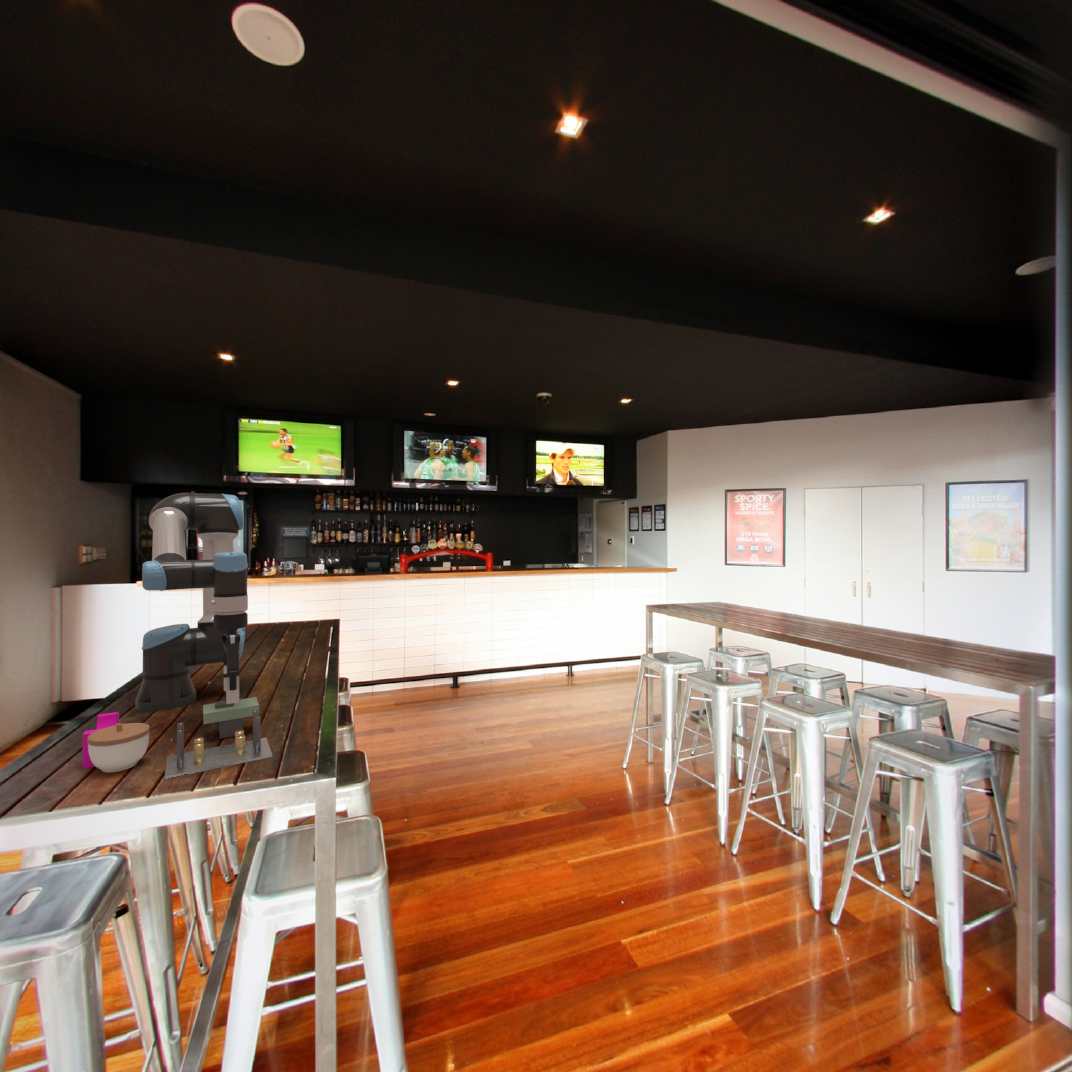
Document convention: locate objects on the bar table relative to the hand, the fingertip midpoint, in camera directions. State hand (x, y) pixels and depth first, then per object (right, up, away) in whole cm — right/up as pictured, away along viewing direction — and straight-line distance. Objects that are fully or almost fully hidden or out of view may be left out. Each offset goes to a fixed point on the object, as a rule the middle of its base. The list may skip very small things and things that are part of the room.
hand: (231, 696), depth 134 cm
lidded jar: (-14, -10, -19) cm, 25 cm away
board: (0, -5, 0) cm, 5 cm away
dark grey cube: (0, -10, 0) cm, 10 cm away
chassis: (+6, -10, -15) cm, 19 cm away
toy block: (-22, -10, -11) cm, 27 cm away
